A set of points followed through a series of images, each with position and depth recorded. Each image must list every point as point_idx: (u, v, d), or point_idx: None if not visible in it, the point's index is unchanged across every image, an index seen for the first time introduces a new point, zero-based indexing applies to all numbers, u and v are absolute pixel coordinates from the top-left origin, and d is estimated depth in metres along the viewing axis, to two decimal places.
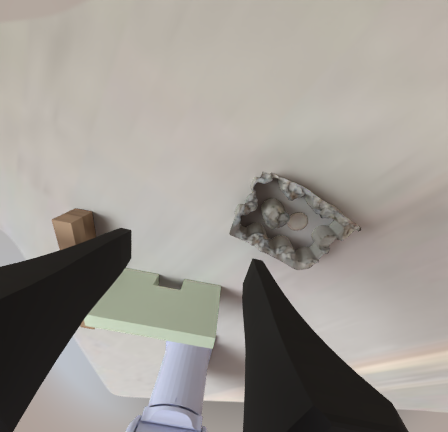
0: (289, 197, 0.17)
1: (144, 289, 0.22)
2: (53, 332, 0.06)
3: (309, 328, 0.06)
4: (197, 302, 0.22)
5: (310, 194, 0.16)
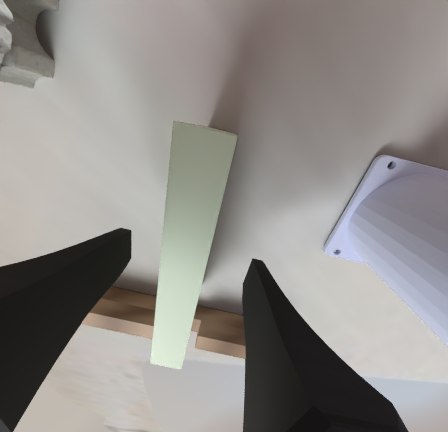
0: None
1: None
2: (53, 332, 0.06)
3: (309, 328, 0.06)
4: None
5: None
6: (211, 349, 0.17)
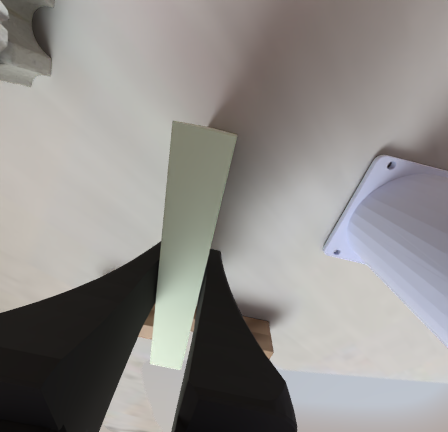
0: None
1: None
2: (124, 347, 0.06)
3: (237, 312, 0.06)
4: None
5: None
6: None
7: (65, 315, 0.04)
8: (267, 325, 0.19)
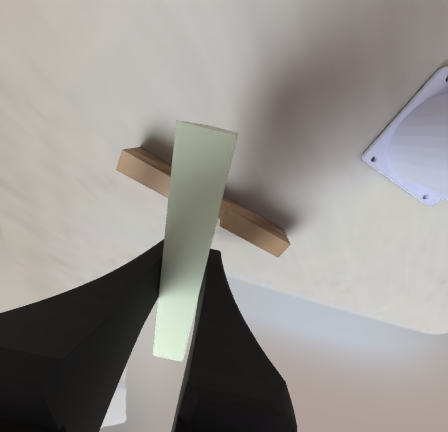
0: None
1: None
2: (124, 347, 0.06)
3: (237, 312, 0.06)
4: None
5: None
6: (235, 230, 0.18)
7: (65, 315, 0.04)
8: (283, 231, 0.21)
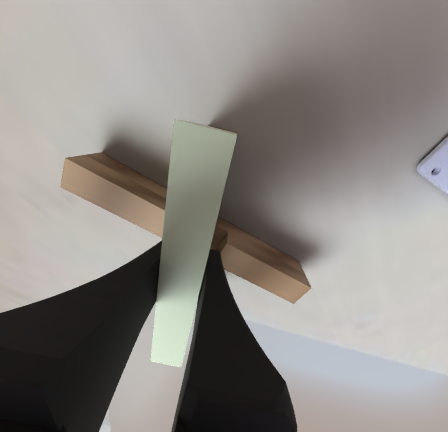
0: None
1: None
2: (124, 347, 0.06)
3: (237, 312, 0.06)
4: None
5: None
6: (234, 269, 0.13)
7: (65, 315, 0.04)
8: (298, 264, 0.15)
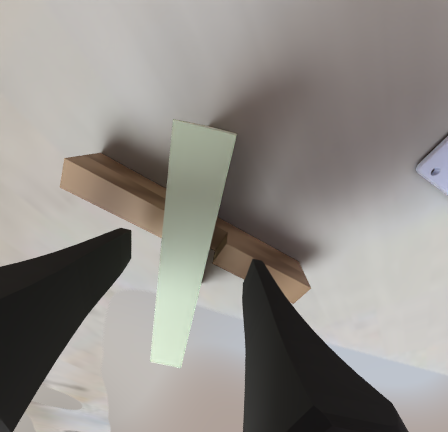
0: None
1: None
2: (53, 332, 0.06)
3: (309, 328, 0.06)
4: None
5: None
6: (234, 269, 0.13)
7: None
8: (298, 264, 0.15)
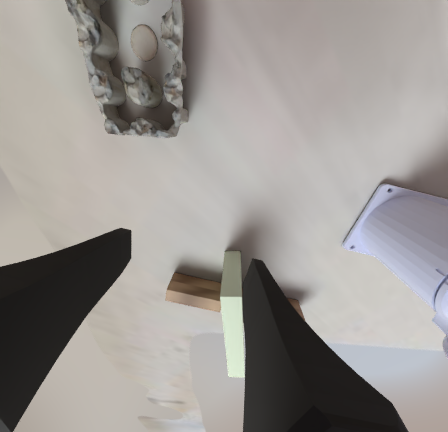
0: (107, 86, 0.14)
1: None
2: (53, 332, 0.06)
3: (309, 328, 0.06)
4: None
5: (88, 62, 0.14)
6: None
7: None
8: (297, 302, 0.25)
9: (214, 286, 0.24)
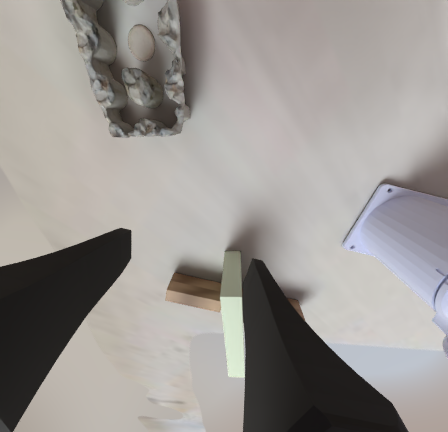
0: (109, 90, 0.14)
1: None
2: (53, 332, 0.06)
3: (309, 328, 0.06)
4: None
5: (89, 67, 0.14)
6: None
7: None
8: (297, 302, 0.25)
9: (214, 286, 0.24)
